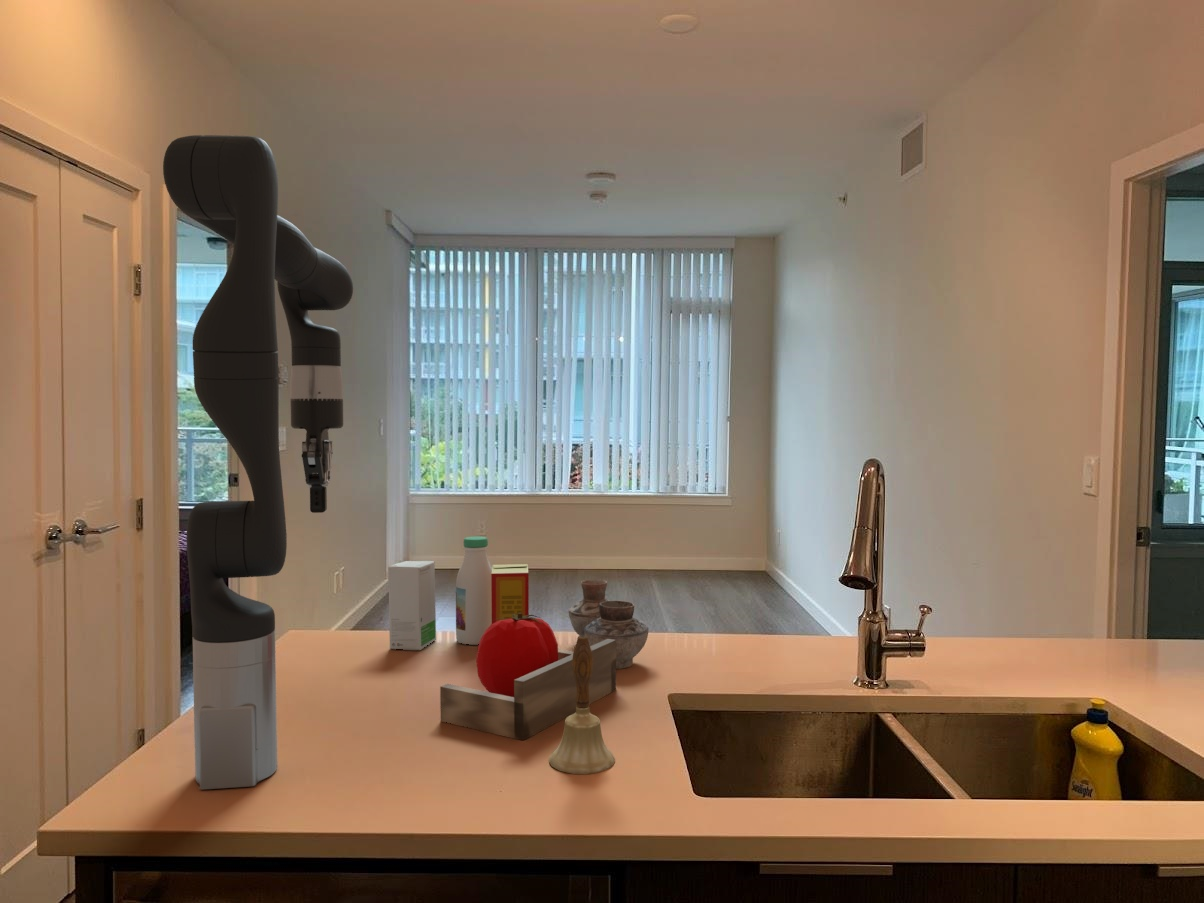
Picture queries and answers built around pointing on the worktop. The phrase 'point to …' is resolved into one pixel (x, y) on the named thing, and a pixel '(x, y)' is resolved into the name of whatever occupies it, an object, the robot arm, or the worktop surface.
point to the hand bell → (582, 724)
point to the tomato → (514, 651)
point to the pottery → (608, 622)
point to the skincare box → (412, 604)
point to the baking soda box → (509, 590)
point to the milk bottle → (473, 592)
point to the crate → (530, 696)
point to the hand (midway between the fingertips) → (318, 511)
